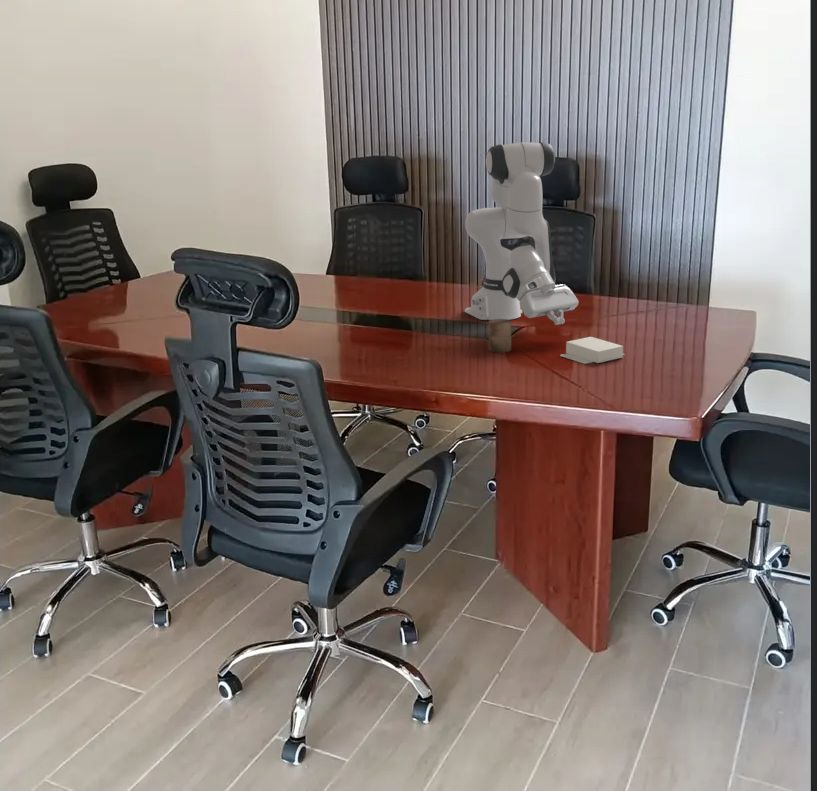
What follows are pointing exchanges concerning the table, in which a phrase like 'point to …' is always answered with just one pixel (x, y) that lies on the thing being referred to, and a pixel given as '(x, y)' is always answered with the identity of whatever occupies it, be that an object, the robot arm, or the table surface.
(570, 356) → the felt mat
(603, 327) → the table surface
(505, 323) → the tan cardboard tube
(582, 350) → the card box
